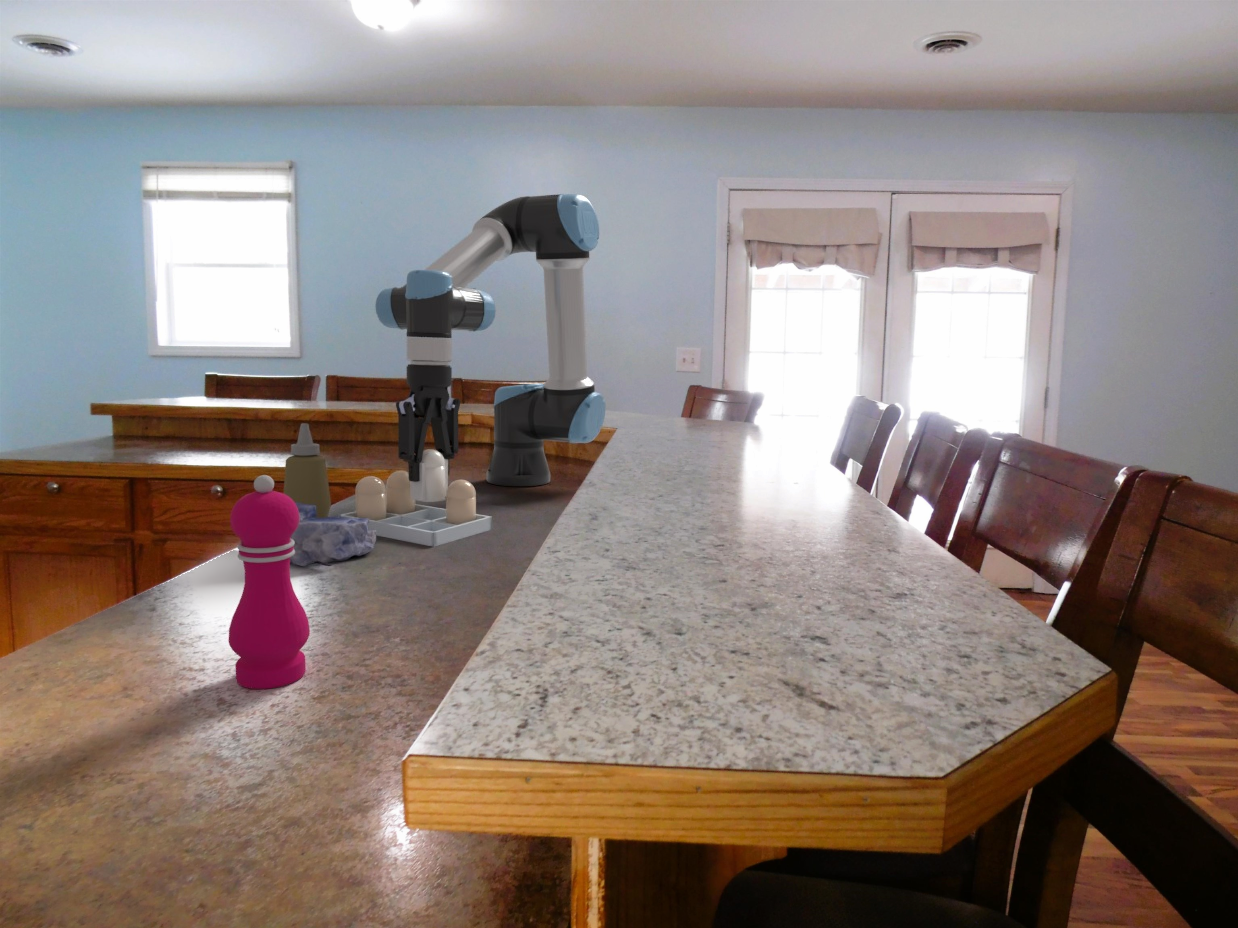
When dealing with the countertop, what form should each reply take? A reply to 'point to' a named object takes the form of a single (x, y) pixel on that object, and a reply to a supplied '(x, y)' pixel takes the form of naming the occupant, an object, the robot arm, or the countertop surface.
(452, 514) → the brown egg
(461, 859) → the countertop surface
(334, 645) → the countertop surface
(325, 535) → the mineral
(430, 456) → the egg
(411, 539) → the carton
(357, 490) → the brown egg
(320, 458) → the squeeze bottle
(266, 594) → the pepper mill
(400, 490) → the brown egg
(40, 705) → the countertop surface
